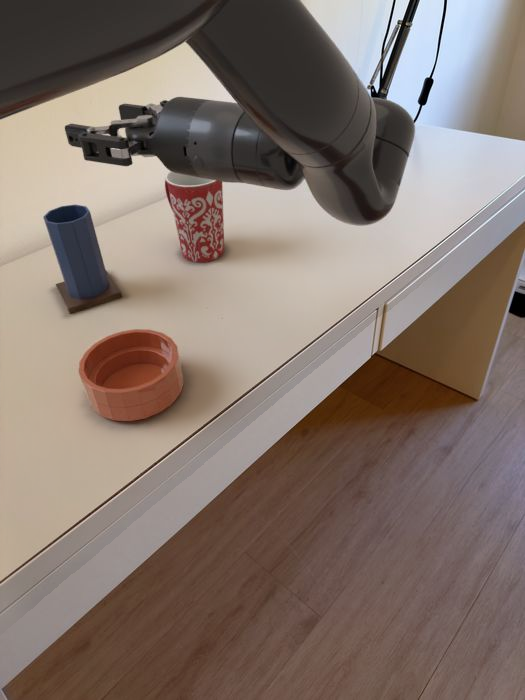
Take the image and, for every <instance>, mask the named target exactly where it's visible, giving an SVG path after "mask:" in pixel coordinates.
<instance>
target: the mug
mask: <svg viewBox="0 0 525 700" xmlns="http://www.w3.org/2000/svg"><path fill="white" fill-rule="evenodd" d="M164 190H165V194H166V198H167V202H168V204H169V207H170V209H171V211H172V213H173V216H174V222H175V227H176V232H177V236H178V240H179V247H180V252H181V255H182V257H183V259H186V260H187V261H189V262H194V263H206V262H212V261H215V260H218V259H219V258H221V256H223V254H224V253H225V221H224V192H223V191H224V190H223V182H221V181H216V180H211V179H205V178H200V177H194V176H189V175H184V174H178V173H174V172H172V171H170V170H168V171H167V173H166V174H165V176H164Z"/></svg>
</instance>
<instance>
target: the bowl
mask: <svg viewBox="0 0 525 700" xmlns="http://www.w3.org/2000/svg"><path fill="white" fill-rule="evenodd" d="M78 375H79V378H80V380H81V383H82V386H83V389H84V391H85V394H86V397H87V400H88V402H89V404H90V407H91V409H92V410H93V411H95V412H96V413H97V414H99V416H101V417H103V418H106V419H109V420H112V421H119V422H133V421H138V420H145V419H147V418H149V417H152V416H154V415H157V414H159V413H161V412H162V411H164V410H166V409H167V408H169V407H170V406H171V405H173V403H174V402H175V401H176V400H177V398H178V397H179V396H180V395H181V392H182V390H183V388H184V384H185V383H184V382H185V381H184V374H183V370H182V364H181V359H180V353H179V349H178V345H177V344H176V342H175V341H174V340H173V338H172V337H170V336H168V335H166V334H165V333H163V332H160V331H157V330H152V329H142V328H141V329H139V328H138V329H137V328H135V329H129V330H122V331H119V332H116V333H113V334H110V335H107V336H105V337H103V338H102V339H100V340H98V341H97V342H95V343H93V344H92V345H91V346H90V347H89V348H88V349H87V350H86V351H85V352H84V354H83V355H82V357H81V359H80V361H79V366H78Z"/></svg>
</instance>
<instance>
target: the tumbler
mask: <svg viewBox="0 0 525 700" xmlns="http://www.w3.org/2000/svg"><path fill="white" fill-rule="evenodd" d="M43 221H44V224H45V227H46V229H47V233H48V236H49V239H50V242H51V246H52V248H53V251H54V254H55V257H56V260H57V264H58V267H59V270H60V272H61V275H62V279H63V282H65V285H66V288H67V291H68V293H69V295H70V296H71V297H74V298H78V299H85V298H92V297H95V296H97V295H99V294H101V293H103V292H105V291H106V289H107V288H108V286H109V281H108V277H107V274H106V271H107V269H106V266H105V262H104V260H103V259H104V258H103V256H102V252H101V248H100V244H99V240H98V237H97V232H96V230H95V226H94V225H95V224H94V222H93V217H92V213H91V211H90V209H89V208H88V207H87V206H86V205H81V204H68V205H61V206H58V207H56V208H53V209H51V210H48V211H47V213H45V215H43ZM105 269H106V270H105Z"/></svg>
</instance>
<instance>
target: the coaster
mask: <svg viewBox="0 0 525 700" xmlns="http://www.w3.org/2000/svg"><path fill="white" fill-rule="evenodd" d="M105 270H106V274H107V277H108V281H109V286H108V288H107V289H106V291H105V292H103V293H101V294H99V295H97V296H95V297H92V298H85V299H78V298H74V297H71V296H70V295H69V293H68V291H67V288H66V285H65V282H64V281H60V282H58V283H55V288H56V290H57V293H58V294H59V296H60V298H61V300H62V302H63V304H64V307H66V310H67V312H68V313H69V314H70V315H71V314H74V313H77V312H80V311H84V310H86V309H90V308H93V307H96V306H100V305H102V304H105V303H108V302H111V301H114V300H115V301H116V300H118V299H120V298H121V299H122V298H123V293H122V291H121V289H120V288H119V286H118V285H117V284H116V282H115V280H114V279H113V278H112V276H111V275H110V274H109V272H108V270H107V269H106V268H105Z"/></svg>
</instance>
